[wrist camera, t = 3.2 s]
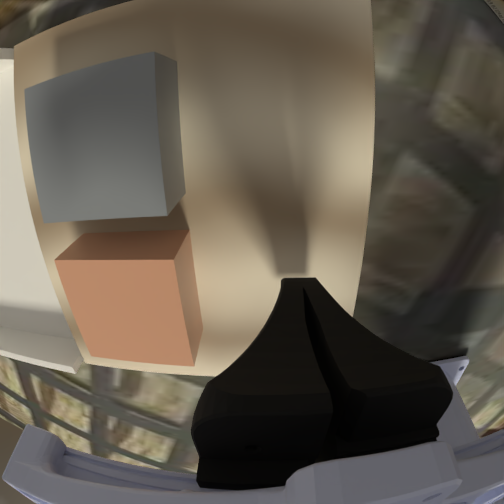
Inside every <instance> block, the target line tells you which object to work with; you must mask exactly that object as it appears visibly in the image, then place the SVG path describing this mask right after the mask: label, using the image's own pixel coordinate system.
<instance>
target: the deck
mask: <svg viewBox="0 0 504 504" xmlns="http://www.w3.org/2000/svg"><path fill="white" fill-rule="evenodd" d="M154 51H155V52H157V53H159V54H162V55H164V56H166V57H168V58H170V59H173V60H175V61H177V71H178V94H179V112H180V128H181V142H182V155H183V167H184V179H185V189H186V193H185V195H184V196H183V197H182V198H181V200H180V201H179V202H178V203H177V205H176V206H175V207H174V208H173V210H172V211H171V212H170V213H169V215H168V216H154V217H133V218H115V219H99V220H83V221H69V222H56V223H44V222H43V218H42V213H41V209H40V205H39V200H38V195H37V191H36V185H35V180H34V175H33V169H32V162H31V156H30V149H29V141H28V132H27V123H26V111H25V94H24V89H26V88H29V87H31V86H33V85H36V84H39V83H41V82H44V81H47V80H49V79H52V78H55V77H58V76H61V75H64V74H67V73H70V72H73V71H76V70H79V69H82V68H86V67H89V66H93V65H96V64H100V63H104V62H108V61H112V60H116V59H120V58H124V57H129V56H133V55H138V54H143V53H148V52H154ZM14 101H15V116H16V127H17V136H18V144H19V152H20V159H21V165H22V171H23V177H24V182H25V187H26V192H27V197H28V202H29V206H30V210H31V215H32V219H33V223H34V226H35V230H36V234H37V238H38V241H39V245H40V248H41V251H42V255H43V258H44V261H45V264H46V267H47V270H48V273H49V276H50V279H51V282H52V285H53V288H54V290H55V293H56V296H57V298H58V301H59V304H60V306H61V309H62V311H63V314H64V316H65V319H66V321H67V323H68V326H69V328H70V330H71V333H72V335H73V337H74V339H75V342H76V344H77V346H78V348H79V350H80V352H81V354H82V356H83V358H84V361H85V363H88V364H94V365H100V366H107V367H114V368H122V369H130V370H138V371H148V372H158V373H169V374H182V375H198V376H217V375H219V374H220V373H221V372H223V371H224V370H225V369H227V368H228V367H229V366H230V365H231V364H232V363H233V362H234V361H235V360H236V359H237V358H238V357H239V356H240V355H241V354H242V353H243V352H244V351H245V350H246V349H247V348H248V347H249V346H250V344H251V343H252V342H253V341H254V339H255V338H256V337H257V335H258V334H259V332H260V331H261V330H262V328H263V326H264V325H265V323H266V321H267V320H268V318H269V316H270V314H271V312H272V310H273V308H274V306H275V303H276V301H277V298H278V295H279V292H280V288H281V280H282V279H283V278H308V277H316V278H317V280H318V281H319V282H320V283H321V284H322V285H323V287H324V288H325V289H326V290H327V291H328V292H329V294H330V295H331V296H332V297H333V298H334V299H335V300H336V301H337V302H338V303H339V305H340V306H341V307H342V308H343V309H344V310H345V311H346V312H347V313H348V314H350V315H351V316H352V317H353V313H354V308H355V302H356V297H357V291H358V285H359V279H360V273H361V266H362V260H363V253H364V245H365V238H366V230H367V221H368V212H369V202H370V191H371V179H372V166H373V149H374V124H375V62H374V39H373V23H372V11H371V0H132V1H129V2H125V3H121V4H118V5H114V6H111V7H107V8H104V9H101V10H98V11H95V12H92V13H89V14H86V15H83V16H80V17H78V18H75V19H72V20H70V21H67V22H65V23H62V24H60V25H57V26H55V27H53V28H50V29H48V30H46V31H44V32H41V33H39V34H37V35H35V36H33V37H31V38H29V39H27V40H25V41H23V42H21V43H19V44H17V45H15V46H14ZM161 230H190V236H191V245H192V253H193V261H194V268H195V276H196V283H197V290H198V297H199V304H200V311H201V317H202V323H203V332H202V336H201V340H200V344H199V348H198V353H197V357H196V361H195V366H194V367H193V366H177V365H163V364H152V363H141V362H132V361H123V360H115V359H107V358H100V357H93V356H91V355H90V353H89V351H88V348H87V346H86V344H85V342H84V339H83V337H82V335H81V332H80V330H79V328H78V325H77V323H76V320H75V318H74V315H73V313H72V310H71V308H70V305H69V302H68V300H67V297H66V294H65V291H64V289H63V286H62V283H61V280H60V277H59V274H58V271H57V268H56V265H55V261H54V260H55V259H56V258H57V257H58V256H59V255H60V254H61V253H62V252H63V251H64V250H65V249H67V248H68V247H69V246H70V245H71V244H72V243H73V242H74V241H76V240H77V239H78V238H79V237H80V236H81V235H82V234H83V233H106V232H132V231H161Z"/></svg>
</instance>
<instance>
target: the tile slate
mask: <svg viewBox="0 0 504 504" xmlns="http://www.w3.org/2000/svg"><path fill="white" fill-rule="evenodd" d="M24 94H25V111H26V123H27V132H28V141H29V149H30V156H31V162H32V169H33V175H34V180H35V185H36V191H37V195H38V200H39V205H40V209H41V213H42V218H43V222H44V223H56V222H69V221H83V220H99V219H115V218H133V217H154V216H168V215H169V213H170V212H171V211H172V210H173V208H174V207H175V206H176V205H177V203H178V202H179V201H180V200H181V198H182V197H183V196H184V195H185V193H186V189H185V179H184V167H183V155H182V142H181V128H180V112H179V94H178V71H177V61H175V60H173V59H170V58H168V57H166V56H164V55H162V54H159V53H157V52H155V51H154V52H148V53H143V54H138V55H133V56H129V57H124V58H120V59H116V60H112V61H108V62H104V63H100V64H96V65H93V66H89V67H86V68H82V69H79V70H76V71H73V72H70V73H67V74H64V75H61V76H58V77H55V78H52V79H49V80H47V81H44V82H41V83H39V84H36V85H33V86H31V87H29V88H26V89H24Z"/></svg>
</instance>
